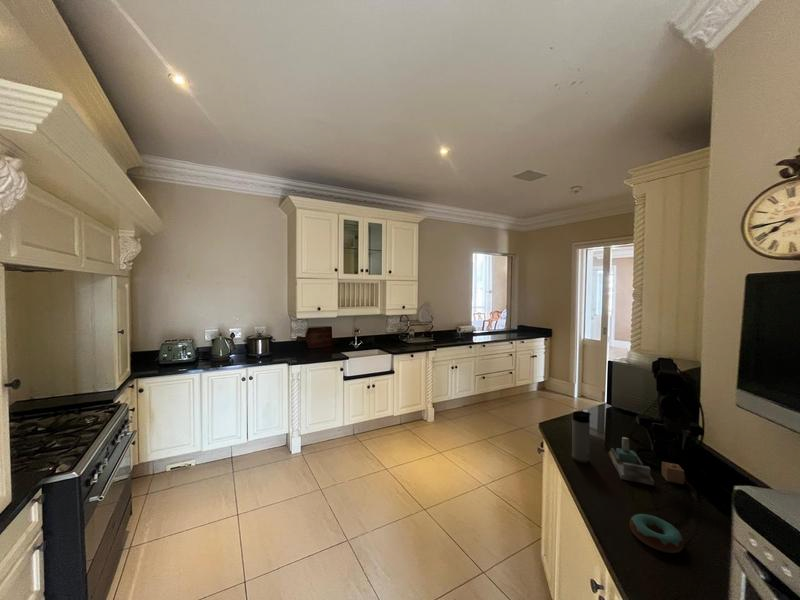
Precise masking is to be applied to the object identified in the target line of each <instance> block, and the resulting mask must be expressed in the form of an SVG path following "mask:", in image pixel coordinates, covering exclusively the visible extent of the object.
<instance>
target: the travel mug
mask: <svg viewBox="0 0 800 600" xmlns="http://www.w3.org/2000/svg"><path fill="white" fill-rule="evenodd" d="M591 415H592V414H591V413H590V412H589V411H583V410H576V411H574V412H572V433H571V434H572V435H571V436H572V437H571V439H572V440H571V441H572V442H571V459H572V460H574V461H575V462H578V463H579V464H581V463H582V464H588V463H589V462H590V434H591V433H590V432H591V431H590V430H591V429H590V427H591V426H590V425H591V423H590V422H591V420H590V417H591Z"/></svg>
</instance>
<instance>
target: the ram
mask: <svg viewBox="0 0 800 600" xmlns="http://www.w3.org/2000/svg"><path fill="white" fill-rule="evenodd" d="M615 452H616V454H617V455H618V457H619V459H620V461H625V462H630V463H636V464H637V456H638V454H637V453H636V451H634V450H630V438H629V437H625V436H624V437H623V436H622V437H621V448H620V447H616V449H615ZM635 453H636V454H637V455H636V454H635Z"/></svg>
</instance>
